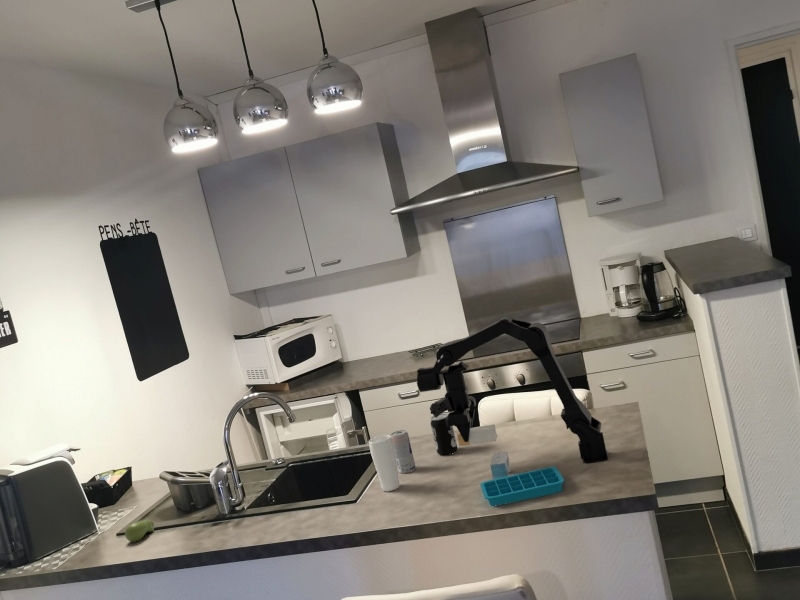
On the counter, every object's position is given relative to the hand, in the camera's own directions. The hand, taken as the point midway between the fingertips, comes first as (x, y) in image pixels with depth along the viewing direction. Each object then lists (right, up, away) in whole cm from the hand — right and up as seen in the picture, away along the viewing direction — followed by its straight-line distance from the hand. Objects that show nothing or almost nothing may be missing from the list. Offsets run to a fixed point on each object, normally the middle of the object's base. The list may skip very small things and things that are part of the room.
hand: (467, 439), depth 202 cm
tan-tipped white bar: (+3, 0, -1) cm, 3 cm away
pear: (-96, -31, +10) cm, 102 cm away
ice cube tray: (+12, -10, -22) cm, 27 cm away
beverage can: (-4, -9, +22) cm, 24 cm away
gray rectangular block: (+9, -9, -9) cm, 15 cm away
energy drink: (-17, -12, +14) cm, 25 cm away
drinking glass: (-22, -15, +2) cm, 26 cm away
